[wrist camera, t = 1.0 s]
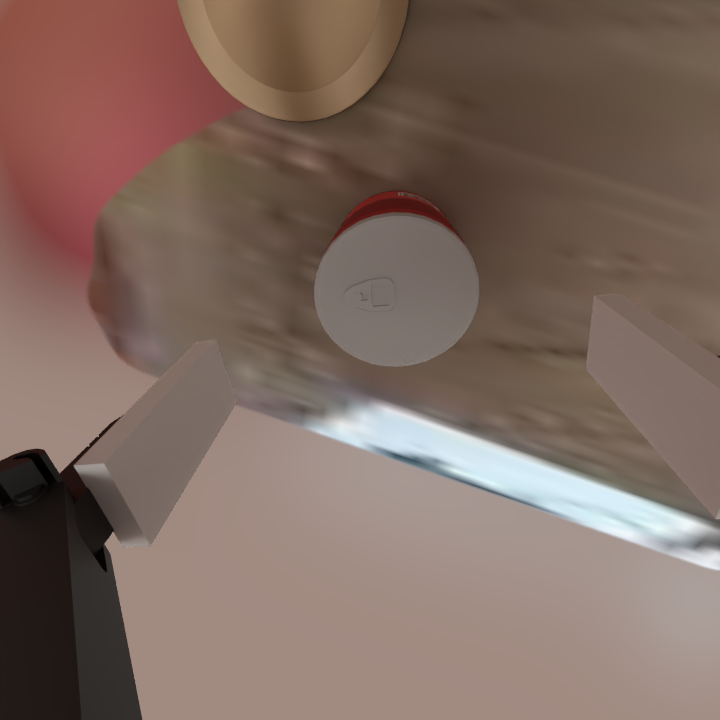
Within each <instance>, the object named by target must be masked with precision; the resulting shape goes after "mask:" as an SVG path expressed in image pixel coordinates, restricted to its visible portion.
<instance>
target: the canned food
mask: <svg viewBox="0 0 720 720" xmlns="http://www.w3.org/2000/svg"><path fill="white" fill-rule="evenodd" d="M479 294H480V292H479V277H478V273H477V269H476V266H475V262H474V259H473V257H472V256H471V254H470V252H469V250H468V248H467V246H466V245H465V243H464V242H463V240H462V239H461V237H460V236H459V235H458V233H457V232H456V231H455V229H454V228H453V227H452V225H451V224H450V223H449V221H448V220H447V219H446V218H445V216H444V215H443V214H442V213H441V211H440V210H439V209H438V208H437V207H436V206H435V205H434V204H432V203H431V202H430V201H428V200H427V199H425V198H423V197H421V196H419V195H417V194H413V193H409V192H404V191H390V192H385V193H380V194H377V195H375V196H372V197H370V198H368V199H366V200H365V201H363V202H362V203H360V204H359V205H358V206H357V207H356V208H355V209H354V210H353V211H352V212H351V213H350V214H349V215H348V217H347V218H346V220H345V221H344V223H343V224H342V226H341V227H340V229H339V231H338V232H337V234H336V235H335V237H334V238H333V240H332V241H331V243H330V244H329V246H328V247H327V249H326V251H325V253H324V255H323V257H322V259H321V262H320V264H319V266H318V269H317V274H316V279H315V285H314V302H315V306H316V310H317V314H318V317H319V319H320V322H321V324H322V326H323V328H324V330H325V331H326V332H327V334H328V335H329V336H330V338H331V339H332V340H333V341H334V342H335V343H336V344H337V345H338V346H339V347H340V348H342V349H343V350H344V351H346V352H347V353H349V354H351V355H352V356H354V357H355V358H358V359H360V360H363V361H365V362H368V363H371V364H376V365H381V366H393V367H400V366H409V365H415V364H418V363H422V362H425V361H428V360H430V359H432V358H434V357H436V356H438V355H440V354H442V353H443V352H445V351H446V350H448V349H449V348H450V347H452V346H453V345H454V344H455V343H456V342H457V341H458V340H459V339H460V338H461V337H462V336H463V335H464V333H465V332H466V330H467V329H468V327H469V325H470V324H471V322H472V320H473V317H474V315H475V312H476V310H477V306H478V300H479Z"/></svg>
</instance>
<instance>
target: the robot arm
mask: <svg viewBox="0 0 720 720" xmlns="http://www.w3.org/2000/svg"><path fill="white" fill-rule="evenodd" d="M586 370H587V371H588V372H589V373H590V375H591V376H592V377H593V378H594V379H595V380H596V382H597V383H598V384H599V385H600V386H601V387H602V388H603V390H604V391H605V392H606V393H607V394H608V395H609V397H610V398H611V399H612V400H613V401H614V402H615V403H616V405H617V406H618V407H619V408H620V409H621V410H622V412H623V413H624V414H625V415H626V416H627V417H628V418H629V420H630V421H631V422H632V423H633V424H634V425H635V427H636V428H637V429H638V430H639V431H640V432H641V434H642V435H643V436H644V437H645V438H646V439H647V440H648V442H649V443H650V444H651V445H652V446H653V447H654V449H655V450H656V451H657V452H658V453H659V454H660V455H661V457H662V458H663V459H664V460H665V461H666V462H667V464H668V465H669V466H670V467H671V468H672V469H673V470H674V472H675V473H676V474H677V475H678V476H679V477H680V479H681V480H682V481H683V482H684V483H685V484H686V486H687V487H688V488H689V489H690V490H691V491H692V492H693V494H694V495H695V496H696V497H697V498H698V499H699V501H700V502H701V503H702V504H703V505H704V506H705V507H706V509H707V510H708V511H709V512H710V513H711V514H712V516H713V517H714V518H715V519H720V356H716V355H714V354H712V353H711V352H709V351H708V350H706V349H705V348H703V347H702V346H700V345H699V344H697V343H696V342H694V341H692V340H691V339H689V338H688V337H686V336H685V335H683V334H682V333H680V332H679V331H677V330H676V329H674V328H673V327H671V326H669V325H668V324H666V323H665V322H663V321H662V320H660V319H659V318H657V317H656V316H654V315H653V314H651V313H649V312H648V311H646V310H645V309H643V308H642V307H640V306H639V305H637V304H636V303H634V302H633V301H631V300H629V299H628V298H626V297H625V296H623V295H622V294H620V293H612V294H604V295H595V296H594V300H593V309H592V318H591V327H590V336H589V345H588V354H587V363H586ZM236 403H237V400H236V398H235V395H234V392H233V389H232V386H231V383H230V380H229V377H228V374H227V371H226V368H225V365H224V362H223V360H222V357H221V354H220V351H219V348H218V345H217V342H216V339H215V340H207V341H198V342H195V343H194V344H193V345H192V346H191V347H190V348H189V349H188V350H187V351H186V352H185V353H184V354H183V355H182V356H181V357H180V358H179V360H178V361H177V362H176V363H175V364H174V365H173V366H172V367H171V368H170V369H169V370H168V371H167V372H166V373H165V374H164V375H163V376H162V377H161V378H160V379H159V380H158V381H157V382H156V383H155V384H154V385H153V386H152V387H151V388H150V389H149V390H148V391H147V392H146V393H145V394H144V395H143V396H142V397H141V398H140V399H139V400H138V401H137V402H136V403H135V404H134V405H133V406H132V407H131V408H130V409H129V410H128V411H127V412H126V413H125V414H124V415H123V416H121V417H119V418H118V419H116V420H115V421H113V422H112V423H111V424H109V425H108V426H107V427H106V428H105V429H104V430H103V431H102V432H101V433H100V434H99V437H96V438H95V439H94V440H93V441H92V442H91V443H90V446H89V447H86V448H85V449H84V450H83V451H82V452H81V453H80V454H79V455H78V456H77V457H76V458H75V459H74V460H73V461H72V462H71V463H70V464H69V465H68V466H67V467H66V468H65V469H64V470H63V471H62V472H61V473H60V474H59V472H58V471H57V469H56V468H55V466H54V465H53V463H52V461H51V460H50V458H49V457H48V455H47V454H46V452H45V450H42V449H31V450H26V451H23V452H20V453H17V454H14V455H12V456H10V457H8V458H6V459H3V460H1V461H0V720H142V716H141V711H140V705H139V700H138V695H137V690H136V685H135V679H134V674H133V669H132V664H131V659H130V654H129V648H128V643H127V638H126V633H125V628H124V623H123V618H122V613H121V607H120V602H119V597H118V591H117V587H116V581H115V576H114V571H113V565H112V560H111V555H110V553H109V551H108V549H107V548H106V546H105V545H104V543H105V542H106V540H107V539H108V538H109V536H110V535H111V534H112V532H114V533H115V535H116V536H117V538H118V540H119V541H120V543H121V545H122V546H123V547H139V546H140V547H142V546H151V544H152V543H153V541H154V539H155V538H156V536H157V534H158V533H159V531H160V529H161V528H162V526H163V524H164V523H165V521H166V519H167V517H168V516H169V514H170V513H171V511H172V509H173V508H174V506H175V504H176V503H177V501H178V499H179V498H180V496H181V494H182V493H183V491H184V489H185V488H186V486H187V484H188V483H189V481H190V479H191V478H192V476H193V474H194V473H195V471H196V469H197V468H198V466H199V464H200V463H201V461H202V459H203V458H204V456H205V454H206V453H207V451H208V449H209V448H210V446H211V444H212V443H213V441H214V439H215V438H216V436H217V434H218V433H219V431H220V429H221V428H222V426H223V425H224V423H225V421H226V419H227V418H228V416H229V415H230V413H231V411H232V409H233V408H234V406H235V405H236Z"/></svg>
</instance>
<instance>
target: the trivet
mask: <svg viewBox="0 0 720 720" xmlns="http://www.w3.org/2000/svg"><path fill="white" fill-rule="evenodd" d="M177 2H178V7H179V10H180V13H181V16H182V19H183V22H184V25H185V28H186V30H187V33H188V35H189V37H190V39H191V42H192V44H193V46H194V48H195V49H196V51H197V53H198V55H199V56H200V58H201V60H202V61H203V63H204V64H205V66H206V67H207V68H208V70H209V71H210V73H211V74H212V75H213V76H214V78H215V79H216V80H217V81H218V82H219V83H220V84H221V85H222V87H223V88H225V89H226V90H227V91H228V92H229V93H230V94H231V95H232V96H234V97H235V98H236V99H237V100H239V101H240V102H242V103H243V104H245V105H246V106H248V107H250V108H251V109H253V110H255V111H257V112H259V113H262V114H264V115H267V116H270V117H273V118H277V119H282V120H287V121H297V122H306V121H316V120H320V119H324V118H328V117H331V116H333V115H335V114H338V113H340V112H342V111H344V110H345V109H347V108H349V107H350V106H352V105H353V104H355V103H356V102H357V101H358V100H360V99H361V98H362V97H363V96H364V95H365V94H366V93H367V92H368V91H369V90H370V89H371V88H372V87H373V86H374V85H375V84H376V82H377V81H378V80H379V78H380V77H381V75H382V74H383V73H384V71H385V70H386V68H387V66H388V64H389V62H390V60H391V59H392V57H393V55H394V52H395V50H396V48H397V45H398V43H399V40H400V37H401V34H402V31H403V27H404V24H405V20H406V14H407V9H408V3H409V0H177Z"/></svg>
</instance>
